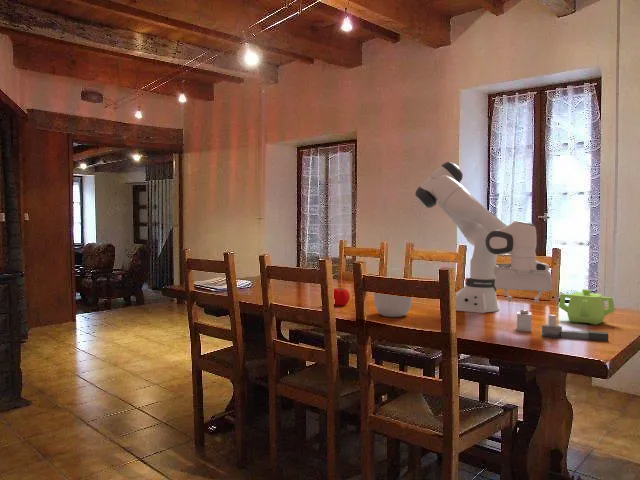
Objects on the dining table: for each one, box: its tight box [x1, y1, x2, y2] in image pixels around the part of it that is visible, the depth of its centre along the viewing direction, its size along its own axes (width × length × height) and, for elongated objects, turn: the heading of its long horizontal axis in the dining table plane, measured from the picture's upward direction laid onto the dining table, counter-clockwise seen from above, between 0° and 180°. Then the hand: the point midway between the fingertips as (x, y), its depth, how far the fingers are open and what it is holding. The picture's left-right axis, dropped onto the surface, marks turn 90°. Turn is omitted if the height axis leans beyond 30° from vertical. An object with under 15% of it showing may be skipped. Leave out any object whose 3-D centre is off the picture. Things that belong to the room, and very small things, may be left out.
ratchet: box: [541, 314, 609, 342], centre depth 184 cm, size 21×6×8 cm, turn 70°
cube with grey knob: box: [516, 309, 533, 333], centre depth 197 cm, size 5×5×7 cm
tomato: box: [333, 287, 351, 307], centre depth 250 cm, size 9×10×8 cm
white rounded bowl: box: [373, 292, 413, 318], centre depth 225 cm, size 17×17×15 cm
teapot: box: [558, 288, 616, 326], centre depth 209 cm, size 18×20×13 cm
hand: (522, 301), depth 196 cm, fingers open, 8 cm apart
